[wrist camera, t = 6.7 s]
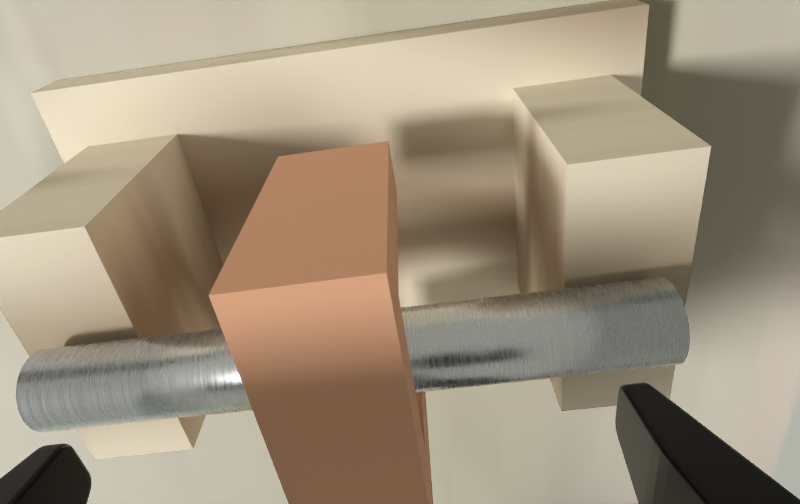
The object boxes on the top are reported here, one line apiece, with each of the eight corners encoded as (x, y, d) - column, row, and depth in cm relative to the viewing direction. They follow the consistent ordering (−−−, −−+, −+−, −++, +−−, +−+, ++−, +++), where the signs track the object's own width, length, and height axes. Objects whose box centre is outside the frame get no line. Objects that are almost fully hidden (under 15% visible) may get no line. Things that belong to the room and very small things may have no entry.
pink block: (422, 355, 15) (436, 543, 10) (334, 366, 15) (308, 555, 10) (388, 141, 12) (386, 273, 7) (278, 156, 12) (208, 295, 7)
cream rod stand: (608, 290, 18) (696, 441, 13) (172, 340, 19) (89, 501, 14) (630, -2, 14) (780, 46, 8) (56, 80, 15) (-136, 172, 9)
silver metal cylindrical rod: (647, 327, 11) (682, 383, 10) (84, 389, 12) (43, 450, 11) (655, 261, 10) (694, 312, 9) (50, 332, 11) (2, 389, 10)
